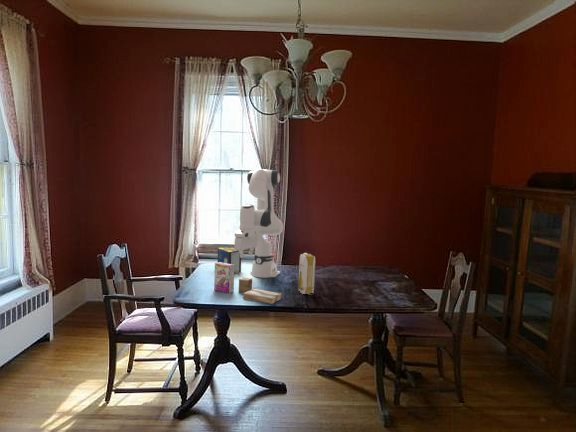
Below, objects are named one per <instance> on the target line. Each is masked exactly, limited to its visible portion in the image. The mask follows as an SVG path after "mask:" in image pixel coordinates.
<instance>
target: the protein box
mask: <svg viewBox="0 0 576 432" xmlns="http://www.w3.org/2000/svg"><path fill="white" fill-rule="evenodd" d="M218 262H222V263H227V264H232V265H234V274H237V273H241V272H242V258H241V257H240V253H239V251H238V250H235V247H231V246H225V247H218V248H217V263H218Z"/></svg>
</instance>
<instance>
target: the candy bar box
mask: <svg viewBox="0 0 576 432" xmlns="http://www.w3.org/2000/svg"><path fill="white" fill-rule="evenodd" d="M213 286H214V289H213V290H214V291H216V292H221V293H225V294H231V293H234V289H235V273H234V265H232V264H227V263H222V262H218V261H217V262H215V263H214V285H213Z"/></svg>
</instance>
